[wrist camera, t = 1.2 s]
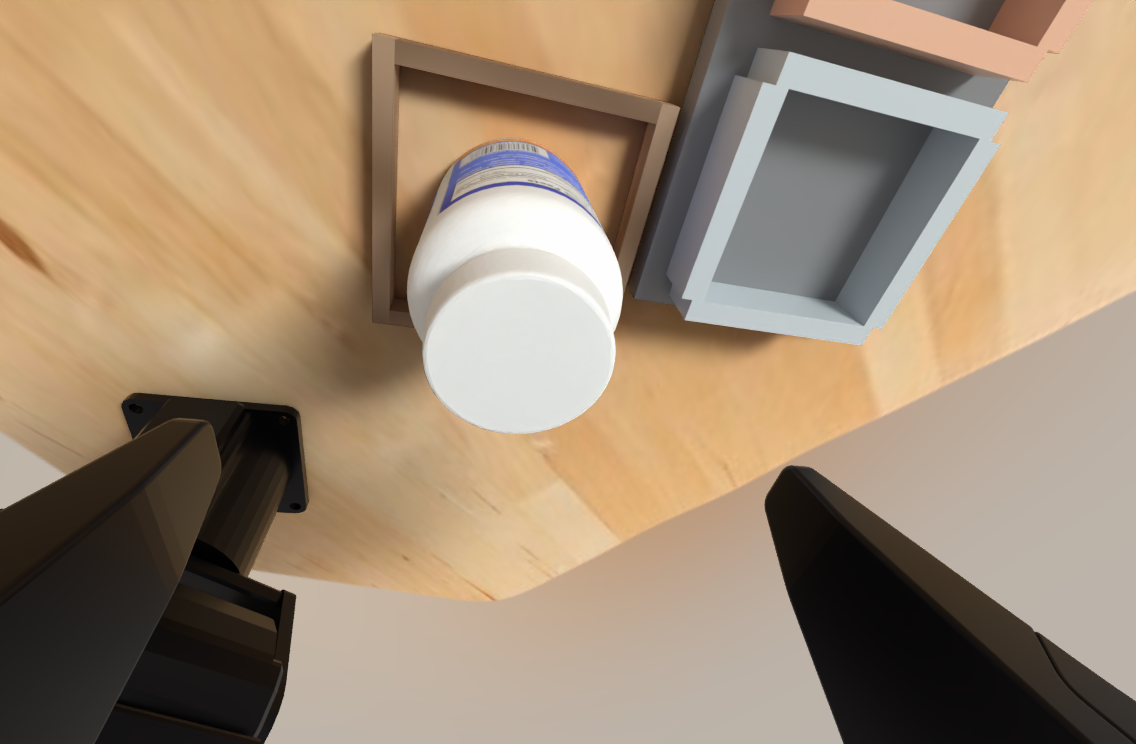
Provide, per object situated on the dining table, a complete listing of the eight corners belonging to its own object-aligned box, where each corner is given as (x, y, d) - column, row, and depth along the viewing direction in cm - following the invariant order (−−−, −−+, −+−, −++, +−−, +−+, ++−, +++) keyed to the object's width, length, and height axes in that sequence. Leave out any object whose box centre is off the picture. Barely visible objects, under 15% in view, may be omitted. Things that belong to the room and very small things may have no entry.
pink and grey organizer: (839, 318, 22) (884, 358, 20) (627, 285, 20) (646, 325, 18) (1203, -306, 13) (1385, -388, 10) (866, -495, 10) (987, -663, 8)
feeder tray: (602, 338, 22) (606, 351, 21) (377, 309, 20) (372, 322, 19) (671, 103, 17) (680, 107, 16) (379, 32, 15) (372, 34, 14)
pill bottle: (530, 307, 20) (551, 491, 13) (407, 233, 18) (337, 401, 10) (616, 196, 18) (706, 335, 10) (488, 95, 16) (479, 175, 8)
